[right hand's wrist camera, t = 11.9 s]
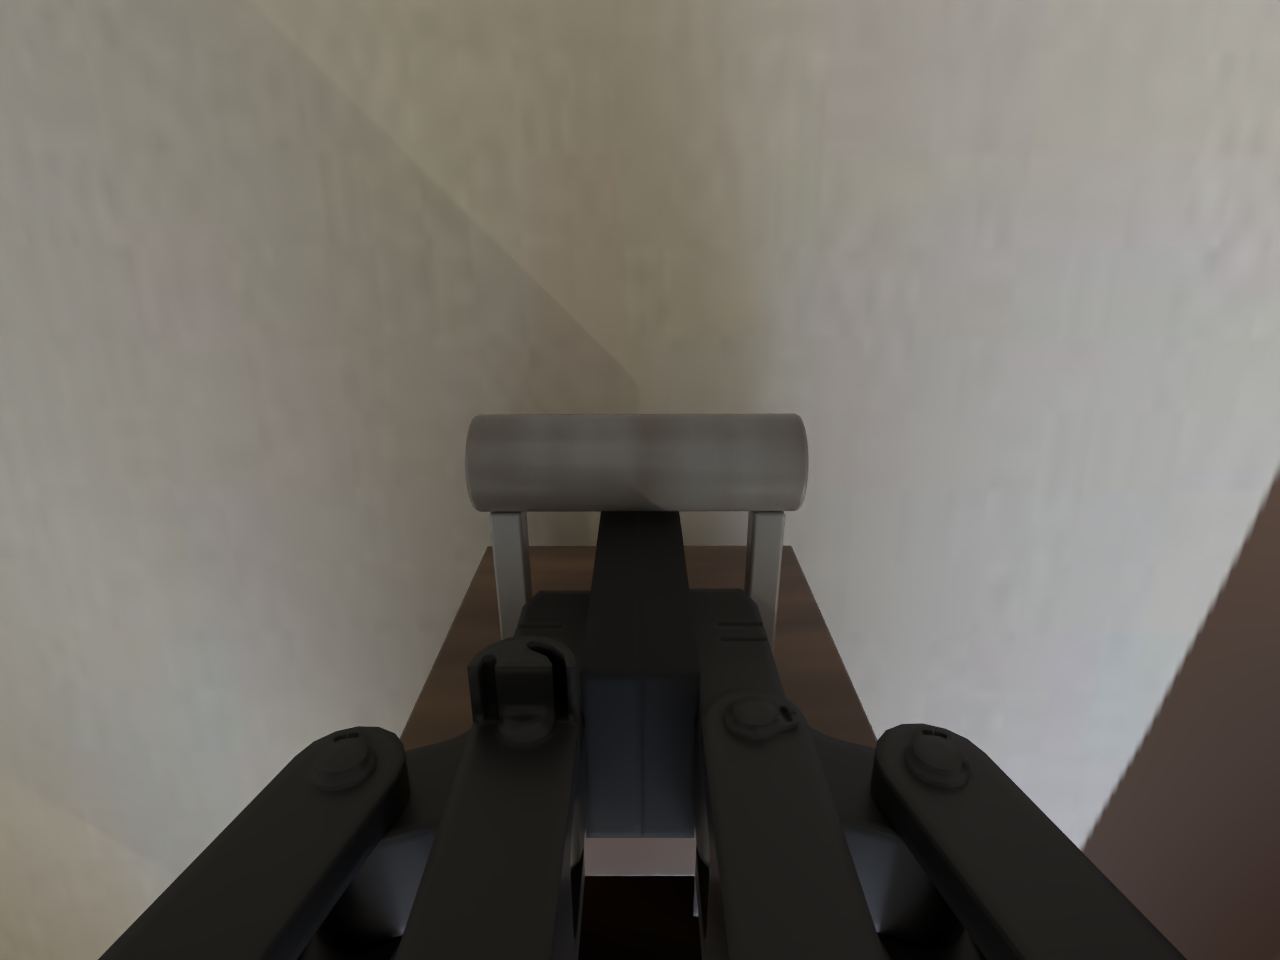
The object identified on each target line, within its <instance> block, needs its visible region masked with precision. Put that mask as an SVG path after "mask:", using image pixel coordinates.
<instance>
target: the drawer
mask: <svg viewBox="0 0 1280 960" xmlns="http://www.w3.org/2000/svg"><path fill="white" fill-rule="evenodd" d="M465 470H466V482H467V488H468V493H469V497H470V500H471V503H472V505H473V507H474V508H475V509H476V510H478V511H480V512H491V513H490V526H491V537H492V546H489V547H487V549H486V551H485V554H484V556H483V558H482V560H481V562H480V565H479V567H478V569H477V571H476V573H475V575H474V578H473V580H472V582H471V584H470V586H469V589H468V591H467V593H466V595H465V597H464V599H463V602H462V604H461V606H460V608H459V610H458V613H457V615H456V617H455V619H454V621H453V623H452V626H451V628H450V630H449V632H448V634H447V637H446V639H445V641H444V643H443V645H442V647H441V650H440V652H439V654H438V656H437V658H436V661H435V663H434V665H433V667H432V669H431V671H430V674H429V676H428V678H427V680H426V682H425V685H424V687H423V689H422V691H421V693H420V695H419V698H418V700H417V702H416V704H415V706H414V709H413V711H412V713H411V715H410V717H409V719H408V722H407V724H406V726H405V728H404V730H403V733H402V735H401V737H400V741H401V742H402V743H403V744H404V749H405V751H407V750H411V749H415V748H420V747H424V746H428V745H432V744H436V743H440V742H443V741H446V740H449V739H452V738H455V737H457V736H459V735H461V734H463V733H465V732H466V731H468V730H470V729H471V727H472V723H473V717H472V708H471V699H470V690H469V681H468V672H467V666H468V665H469V663H470V662H471V660H472V659H473V657H474V656H475V655H476V654H477V653H478V652H480V651H481V650H483V649H484V648H486V647H487V646H489V645H490V644H492V643H495V642H498V641H501V640H504V639H507V638H510V637H514V634H515V631H516V628H517V624H518V621H519V618H520V614H521V611H522V608H523V606H524V605H525V604H526V603H527V602H528V601H529V600H530V599H531V598H532V597H533V596H534V595H535V594H536V593H537V592H539V591H540V590H591V584H592V577H593V569H594V562H595V554H596V547H597V546H529V543H528V529H527V516H526V512H531V511H749V518H748V534H747V546H684V553H685V560H686V568H687V575H688V583H689V588H741V589H742V590H743V591H744V592H745V593H746V594H747V595H748V596H749V597H750V598H751V599H752V600H754V601H755V602H756V603H757V605H758V608H759V611H760V614H761V618H762V621H763V626H764V627H765V631H766V634H767V637H768V641H769V644H770V647H771V650H772V654H773V657H774V660H775V663H776V667H777V670H778V673H779V677H780V680H781V683H782V686H783V690H784V693H785V696H786V698H787V699H788V700H789V701H791V702H792V703H793V704H795V705H796V706H797V707H799V709H800V711H801V712H802V714H803V715H804V717H805V719H806V720H807V723H808V725H809V726H810V727H812V728H813V729H815V730H817V731H819V732H821V733H823V734H825V735H827V736H830V737H834V738H837V739H840V740H843V741H847V742H851V743H855V744H860V745H864V746H868V747H872V748H876V744H877V738H876V736H875V734H874V732H873V729H872V727H871V725H870V723H869V720H868V718H867V716H866V714H865V711H864V709H863V707H862V704H861V702H860V700H859V698H858V695H857V693H856V691H855V689H854V686H853V684H852V682H851V680H850V677H849V675H848V673H847V671H846V668H845V666H844V664H843V662H842V659H841V657H840V655H839V653H838V650H837V648H836V646H835V644H834V641H833V639H832V637H831V635H830V632H829V630H828V628H827V625H826V623H825V621H824V619H823V616H822V614H821V612H820V610H819V607H818V605H817V603H816V601H815V598H814V596H813V594H812V592H811V589H810V587H809V585H808V583H807V580H806V578H805V576H804V574H803V571H802V569H801V567H800V565H799V562H798V560H797V558H796V555H795V553H794V551H793V549H792V546H783V535H784V523H785V514H784V511H795V510H798V509H799V508H800V507H801V505H802V503H803V500H804V496H805V492H806V487H807V479H808V444H807V436H806V431H805V427H804V424H803V421H802V419H801V417H800V416H798V415H796V414H547V415H478V416H475V417H474V418H473V420H472V422H471V424H470V427H469V431H468V436H467V442H466V454H465ZM584 862H585V881H584V893H583V906H582V918H581V930H580V943H579V955H578V960H702V954H701V942H700V929H699V917H698V916H693V912H694V887H695V862H696V835H695V830H694V838H586V828H585V839H584Z"/></svg>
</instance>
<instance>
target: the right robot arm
mask: <svg viewBox="0 0 1280 960" xmlns="http://www.w3.org/2000/svg"><path fill="white" fill-rule="evenodd" d="M467 672H468V681H469V690H470V699H471V708H472V717H473V723H472V727H471V729H470V730H468V731H466V732H465V733H463V734H461V735H459V736H457V737H455V738H452V739H449V740H446V741H443V742H440V743H436V744H432V745H428V746H424V747H420V748H415V749H411V750H407V751H405V749H404V744H403V743H402V742H401V741H400V739H399V738H398V737H397V736H396V734H395V733H393V732H390V731H387V730H385V729H382V728H380V727H359V726H358V727H354V728H349V729H345V730H340V731H336V732H334V733H331V734H329V735H327V736H325V737H323V738H321V739H319V740H317V741H314V742H313V743H312V744H310V745H309V746H308V747H307V748H305V749H304V750H303V751H301V752H300V753H299V754H298V755H296V756H295V757H294V758H293V759H292V760H291V761H290V762H289V763H288V764H287V765H286V767H285V768H284V769H283V770H282V771H281V772H280V773H279V774H278V775H277V776H276V777H275V778H274V779H273V780H272V781H271V782H270V783H269V784H268V785H267V786H266V787H265V788H264V789H263V790H262V791H261V792H260V793H259V794H258V795H257V796H256V797H255V798H254V799H253V801H252V802H251V803H250V804H249V805H248V806H247V807H246V808H245V809H244V810H243V811H242V812H241V813H240V814H239V815H238V816H237V817H236V818H235V819H234V820H233V821H232V822H231V823H230V824H229V825H228V826H227V827H226V828H225V829H224V830H223V831H222V832H221V833H220V834H219V836H218V837H217V838H216V839H215V840H214V841H213V842H212V843H211V844H210V845H209V846H208V847H207V848H206V849H205V850H204V851H203V852H202V853H201V854H200V855H199V856H198V857H197V858H196V859H195V860H194V861H193V862H192V863H191V864H190V865H189V866H188V867H187V868H186V870H185V871H184V872H183V873H182V874H181V875H180V876H179V877H178V878H177V879H176V880H175V881H174V882H173V883H172V884H171V885H170V886H169V887H168V888H167V889H166V890H165V891H164V892H163V893H162V894H161V895H160V896H159V897H158V898H157V899H156V900H155V901H154V902H153V903H152V905H151V906H150V907H149V908H148V909H147V910H146V911H145V912H144V913H143V914H142V915H141V916H140V917H139V918H138V919H137V920H136V921H135V922H134V923H133V924H132V925H131V926H130V927H129V928H128V929H127V930H126V931H125V932H124V933H123V934H122V935H121V936H120V937H119V939H118V940H117V941H116V942H115V943H114V944H113V945H112V946H111V947H110V948H109V949H108V950H107V951H106V952H105V953H104V954H103V955H102V956H101V957H100V958H99V959H98V960H578V955H579V943H580V930H581V918H582V906H583V893H584V881H585V862H584V839H585V828H586V838H694V830H695V835H696V862H695V887H694V912H693V916H698V917H699V929H700V942H701V954H702V960H1187V959H1186V958H1185V957H1184V956H1183V955H1182V954H1181V953H1180V952H1179V951H1178V950H1177V949H1176V948H1175V947H1174V946H1173V945H1172V944H1171V943H1170V942H1169V941H1168V940H1167V939H1166V938H1165V937H1164V936H1163V934H1162V933H1161V932H1160V931H1159V930H1158V929H1157V928H1156V927H1155V926H1154V925H1153V924H1152V923H1151V922H1150V921H1149V920H1148V919H1147V918H1146V917H1145V916H1144V915H1143V914H1142V913H1141V912H1140V911H1139V910H1138V909H1137V908H1136V907H1135V906H1134V905H1133V904H1132V903H1131V902H1130V901H1129V900H1128V899H1127V898H1126V897H1125V896H1124V895H1123V894H1122V893H1121V892H1120V891H1119V890H1118V888H1117V887H1116V886H1115V885H1114V884H1113V883H1112V882H1111V881H1110V880H1109V879H1108V878H1107V877H1106V876H1105V875H1104V874H1103V873H1102V872H1101V871H1100V870H1099V869H1098V868H1097V867H1096V866H1095V865H1094V864H1093V863H1092V862H1091V861H1090V860H1089V859H1088V858H1087V857H1086V856H1085V855H1084V854H1083V853H1082V852H1081V851H1080V850H1079V849H1078V848H1077V847H1076V845H1075V844H1074V843H1073V842H1072V841H1071V840H1070V839H1069V838H1068V837H1067V836H1066V835H1065V834H1064V833H1063V832H1062V831H1061V830H1060V829H1059V828H1058V827H1057V826H1056V825H1055V824H1054V823H1053V822H1052V821H1051V820H1050V819H1049V818H1048V817H1047V816H1046V815H1045V814H1044V813H1043V812H1042V811H1041V810H1040V809H1039V808H1038V807H1037V806H1036V805H1035V804H1034V803H1033V802H1032V800H1031V799H1030V798H1029V797H1028V796H1027V795H1026V794H1025V793H1024V792H1023V791H1022V790H1021V789H1020V788H1019V787H1018V786H1017V785H1016V784H1015V783H1014V782H1013V781H1012V780H1011V779H1010V778H1009V777H1008V776H1007V775H1006V774H1005V773H1004V772H1003V771H1002V770H1001V769H1000V768H999V767H998V766H997V765H996V764H995V763H994V762H993V761H992V760H991V759H990V758H989V757H988V755H987V754H986V753H984V752H983V751H982V750H981V749H979V748H978V747H977V746H975V745H974V744H973V743H972V742H970V741H969V740H968V739H966V738H964V737H962V736H960V735H958V734H955V733H953V732H951V731H949V730H947V729H944V728H940V727H935V726H931V725H926V724H901V725H899V726H896V727H894V728H891V729H888V730H886V731H885V732H884V734H883V735H882V736H881V737H880V738H879V740H878V741H877V744H876V748H872V747H868V746H864V745H860V744H855V743H851V742H847V741H843V740H840V739H837V738H834V737H830V736H827V735H825V734H823V733H821V732H819V731H817V730H815V729H813V728H812V727H810V726H809V725H808V723H807V720H806V719H805V717H804V715H803V714H802V712H801V711H800V709H799V707H797V706H796V705H795V704H793V703H792V702H791V701H789V700H788V699H787V698H786V696H785V693H784V690H783V686H782V683H781V680H780V677H779V673H778V670H777V667H776V663H775V660H774V657H773V654H772V650H771V647H770V644H769V641H768V637H767V634H766V631H765V627H764V626H763V621H762V618H761V614H760V611H759V608H758V605H757V603H756V602H755V601H754V600H752V599H751V598H750V597H749V596H748V595H747V594H746V593H745V592H744V591H743V590H742V589H741V588H689V583H688V575H687V568H686V560H685V553H684V545H683V538H682V530H681V523H680V515H679V511H601V517H600V524H599V532H598V539H597V547H596V554H595V562H594V569H593V577H592V584H591V590H540V591H539V592H537V593H536V594H535V595H534V596H533V597H532V598H531V599H530V600H529V601H528V602H527V603H526V604H525V605H524V606H523V608H522V611H521V614H520V618H519V621H518V624H517V628H516V631H515V634H514V637H510V638H507V639H504V640H501V641H498V642H495V643H492V644H490V645H489V646H487V647H486V648H484V649H483V650H481V651H480V652H478V653H477V654H476V655H475V656H474V657H473V659H472V660H471V662H470V663H469V665H468V666H467Z"/></svg>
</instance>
